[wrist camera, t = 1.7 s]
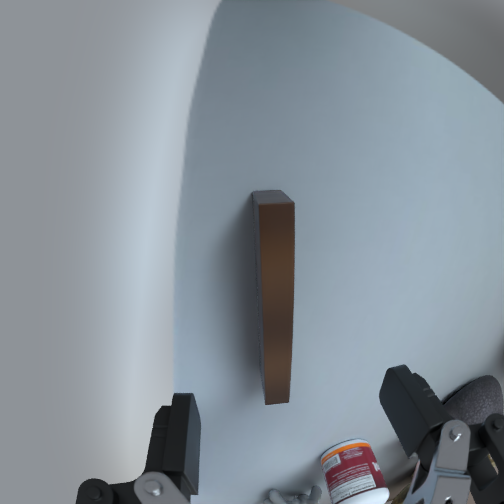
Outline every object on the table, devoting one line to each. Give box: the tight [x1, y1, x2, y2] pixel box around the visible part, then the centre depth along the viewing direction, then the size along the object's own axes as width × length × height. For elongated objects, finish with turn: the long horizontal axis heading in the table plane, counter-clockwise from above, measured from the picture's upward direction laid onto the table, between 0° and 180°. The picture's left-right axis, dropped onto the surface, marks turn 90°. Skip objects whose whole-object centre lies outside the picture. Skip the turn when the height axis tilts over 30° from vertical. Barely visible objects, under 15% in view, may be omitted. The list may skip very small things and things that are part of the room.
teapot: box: [443, 375, 504, 425], centre depth 23 cm, size 19×15×10 cm
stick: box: [252, 190, 295, 405], centre depth 16 cm, size 13×2×4 cm, turn 3°
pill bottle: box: [321, 439, 389, 504], centre depth 22 cm, size 6×6×11 cm
